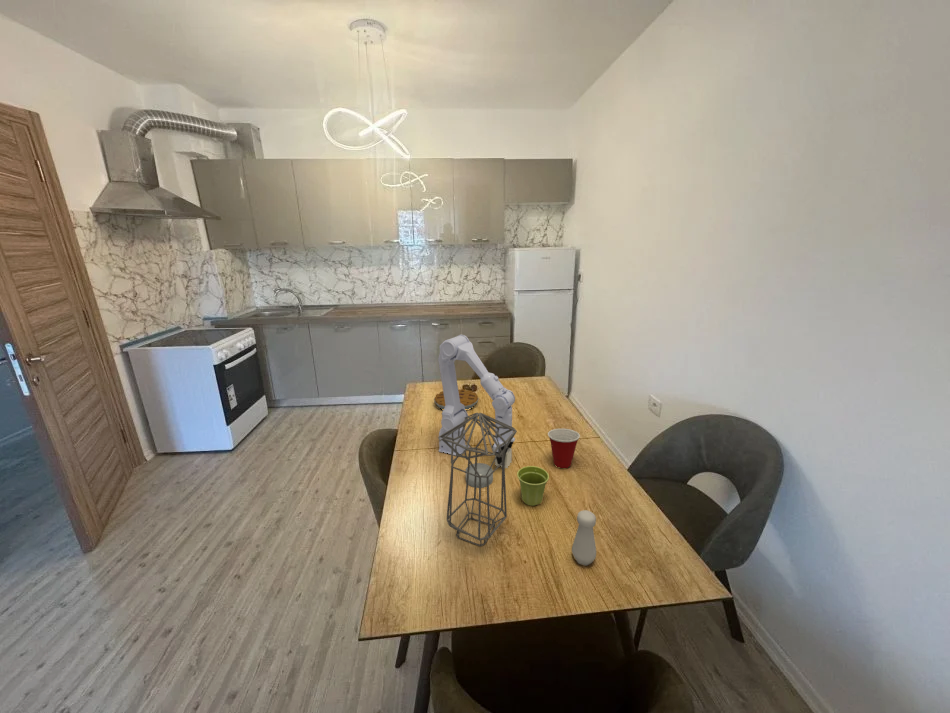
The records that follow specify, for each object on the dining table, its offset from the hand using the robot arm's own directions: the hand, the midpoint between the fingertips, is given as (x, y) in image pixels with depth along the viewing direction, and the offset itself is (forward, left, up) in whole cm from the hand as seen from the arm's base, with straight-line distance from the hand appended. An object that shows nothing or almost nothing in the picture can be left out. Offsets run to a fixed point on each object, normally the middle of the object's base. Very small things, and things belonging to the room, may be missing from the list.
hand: (503, 460), depth 134 cm
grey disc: (-4, -12, -2) cm, 13 cm away
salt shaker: (+33, -32, -2) cm, 46 cm away
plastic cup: (+19, +8, -2) cm, 21 cm away
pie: (-40, +41, -2) cm, 57 cm away
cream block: (0, 0, -1) cm, 1 cm away
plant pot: (+15, -15, -2) cm, 21 cm away
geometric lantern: (+6, -34, -2) cm, 35 cm away
